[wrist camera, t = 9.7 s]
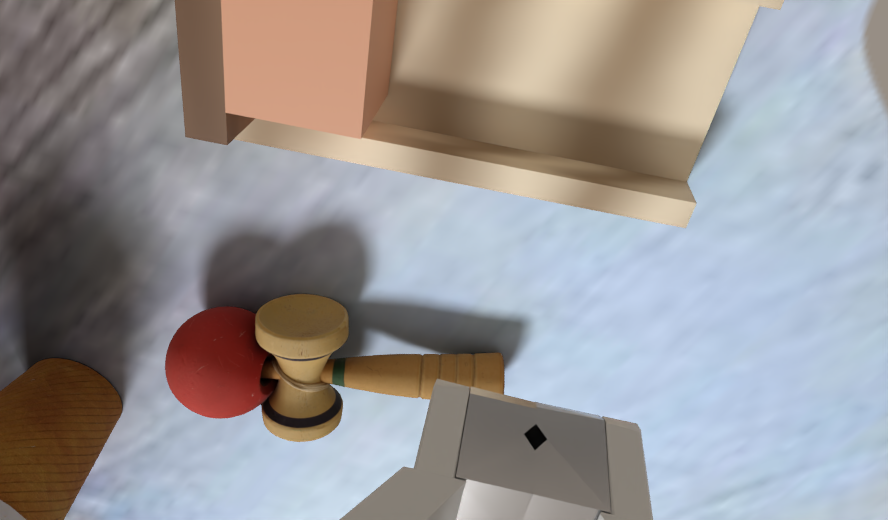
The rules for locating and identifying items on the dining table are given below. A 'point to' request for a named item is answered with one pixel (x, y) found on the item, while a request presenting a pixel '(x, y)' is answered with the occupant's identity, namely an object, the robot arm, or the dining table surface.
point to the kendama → (299, 366)
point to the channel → (520, 97)
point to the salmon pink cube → (308, 61)
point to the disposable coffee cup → (52, 436)
